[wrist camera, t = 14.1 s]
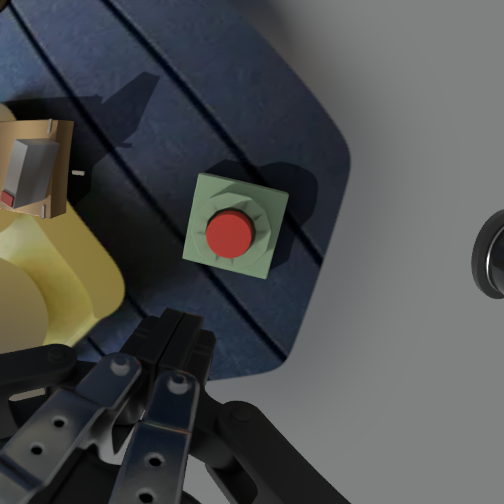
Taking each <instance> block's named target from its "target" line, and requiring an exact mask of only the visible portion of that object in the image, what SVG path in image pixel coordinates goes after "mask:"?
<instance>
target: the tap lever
mask: <svg viewBox="0 0 504 504" xmlns="http://www.w3.org/2000/svg"><path fill="white" fill-rule="evenodd" d="M59 146H60V144H59V143H57V142H54V141H52V140H50V139H48V138H37V139H15V141H14V145H13V148H12V152H11V156H10V160H9V164H8V169H7V173H6V178H5V182H4V187H3V191H2V193H1V199H0V201H1V202H3V203H4V204H6V205H7V206H9V207H10V208H12V209H16V208H19V207H22V206H26V205H29V204H32V203H36V202H39V201H42V200H44V199H45V195H46V191H47V187H48V184H49V180H50V176H51V173H52V169H53V166H54V162H55V159H56V156H57V153H58V149H59Z"/></svg>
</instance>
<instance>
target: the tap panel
mask: <svg viewBox="0 0 504 504" xmlns="http://www.w3.org/2000/svg"><path fill="white" fill-rule="evenodd" d="M73 126H74V121H66V120H52V119H49V120H23V121H2V122H0V199H1V193H2V191H3V187H4V182H5V178H6V173H7V169H8V164H9V160H10V156H11V152H12V148H13V145H14V141H15V139H37V138H48V139H50V140H52V141H54V142H57V143H59V144H60V146H59V149H58V153H57V156H56V159H55V162H54V166H53V169H52V173H51V176H50V180H49V184H48V187H47V191H46V195H45V199H44V200H42V201H39V202H36V203H32V204H29V205H26V206H22V207H19V208H16V209H12V208H10V207H9V206H7V205H6V204H4V203H3V202H1V201H0V209H5V210H10V211H15V212H20V213H25V214H30V215H35V216H40V217H42V219H45V218H50V219H51V218H53V217H56V216H59V215H61V214H64V213H66V198H67V182H68V169H69V158H70V149H71V140H72V133H73ZM84 173H85V172H84V171H75V170H72V174H75V175H84Z"/></svg>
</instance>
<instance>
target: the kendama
mask: <svg viewBox="0 0 504 504" xmlns="http://www.w3.org/2000/svg"><path fill="white" fill-rule="evenodd" d="M7 1H8V0H0V11H1V9H2V8H3V7H4V6H5V4H6V2H7Z"/></svg>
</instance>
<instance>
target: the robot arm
mask: <svg viewBox="0 0 504 504" xmlns="http://www.w3.org/2000/svg"><path fill="white" fill-rule="evenodd" d="M484 269H485V276H486V279H487V281H488V283H489V284H490V286H491V287H493V288H494V289H495V290H497V291H499V292H500V293H502V294H503V295H504V225H502V226H501V227H500V228H499V229H498V230H497V231H496V232H495V234H494V235H493V237H492V239H491V241H490V243H489V245H488V248H487V251H486V255H485V263H484ZM203 320H204V317H202V316H198V315H194V314H190V313H187V312H186V313H185V312H183V311H179V310H175V309H172V308H168V307H167V308H166V309H165V311H164V312H163V314H162V315H161V317H160V318H159V317H155V316H150V317H148V318H146V319H144V320H142V321H141V323H140V324H139V325H138V327H137V329H135V331H134V332H133V334H132V335H131V336H130V337H129V339H128V340H127V341H126V343H125V344H124V345H123V347H122V348H121V350H120V351H119V352H115V353H110V354H107V355H105V356H104V357H103V358H102V359H101V360H100V361H99V362H98V363H94V362H86V361H79V360H77V355H76V352H75V351H74V350H73V349H72V348H70V347H69V346H67V345H63V344H49V345H45V346H40V347H35V348H30V349H25V350H20V351H15V352H9V353H4V354H0V504H201V503H200V502H199V501H198V500H196V499H195V498H194V497H193V496H191V495H190V494H188V493H187V492H185V491H183V484H184V478H185V471H186V466H187V460H188V454H190V455H191V456H193V457H195V458H197V459H199V460H200V461H203V462H204V463H205V467H206V469H207V471H208V473H209V474H210V476H211V477H212V478H213V480H214V481H215V483H216V484H217V486H218V487H219V488H220V490H221V491H222V492H223V494H224V495H225V497H226V498H227V499H228V501H229V502H230V504H351V503H350V502H349V501H348V500H346V499H345V498H344V497H343V496H342V495H341V494H340V493H339V492H338V491H337V490H336V489H335V488H334V487H333V486H332V485H331V484H330V483H329V482H328V481H326V479H325V478H323V476H321V475H320V474H319V473H318V472H317V471H316V470H315V469H314V468H313V467H312V466H311V464H309V463H308V461H307V460H306V459H304V457H303V456H302V455H301V454H300V453H299V452H298V451H297V450H296V449H295V448H294V447H293V446H292V445H291V444H290V443H289V442H288V441H287V439H286V438H285V437H284V436H283V435H282V434H281V433H280V432H279V431H278V430H277V429H276V428H275V426H274V425H273V424H272V423H271V422H270V421H269V420H268V419H267V418H266V417H265V415H264V414H263V413H262V412H261V411H260V410H259V409H258V408H257V407H255V406H254V405H252V404H250V403H247V402H244V401H230V402H227V403H225V404H221V403H219V402H217V401H216V400H214V399H213V398H211V397H210V396H209V395H208V394H207V392H206V391H205V385H206V382H207V378H208V375H209V372H210V368H211V363H212V358H213V354H214V349H215V344H216V338H215V336H214V333H213V332H211V331H207V330H203V329H202V326H203ZM40 388H44V391H45V394H44V395H40V396H36V397H32V398H27V399H23V400H19V401H10V400H8V399H9V398H10V397H11V396H12V395H14V394H18V393H23V392H27V391H31V390H36V389H40ZM144 410H145V413H144V415H143V418H142V420H140V418H141V416H142V414H143V412H144ZM127 446H128V447H127ZM126 447H127V449H126ZM125 449H126V452H125V455H124V458H123V461H122V464H121V465H117V464H118V461H119V459H120V458H121V456H122V454H123V453H124V451H125Z"/></svg>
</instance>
